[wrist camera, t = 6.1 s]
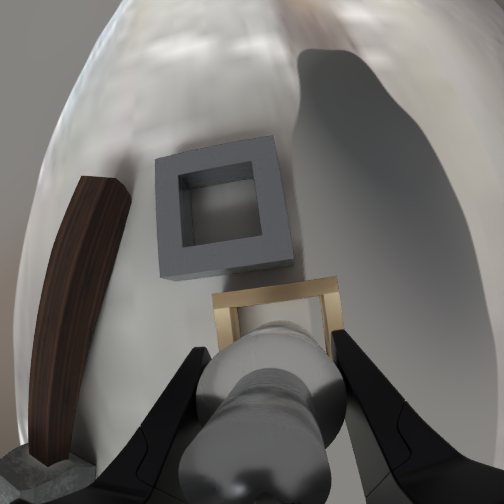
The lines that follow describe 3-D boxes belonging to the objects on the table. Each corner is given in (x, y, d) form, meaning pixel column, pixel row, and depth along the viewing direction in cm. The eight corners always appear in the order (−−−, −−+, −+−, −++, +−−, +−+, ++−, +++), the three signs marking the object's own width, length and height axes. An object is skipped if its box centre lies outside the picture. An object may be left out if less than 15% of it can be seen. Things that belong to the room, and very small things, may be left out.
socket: (293, 264, 23) (294, 258, 20) (175, 281, 23) (160, 277, 21) (275, 154, 24) (273, 135, 21) (168, 174, 25) (155, 159, 22)
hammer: (117, 208, 29) (62, 476, 21) (54, 147, 19) (-9, 503, 10) (158, 214, 29) (98, 497, 20) (100, 147, 18) (31, 537, 10)
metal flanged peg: (320, 386, 16) (385, 547, 3) (248, 395, 16) (158, 555, 3) (312, 315, 16) (386, 334, 4) (239, 325, 17) (102, 362, 4)
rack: (343, 386, 21) (351, 397, 18) (235, 399, 21) (228, 412, 18) (330, 280, 22) (336, 275, 19) (222, 295, 23) (211, 293, 20)
